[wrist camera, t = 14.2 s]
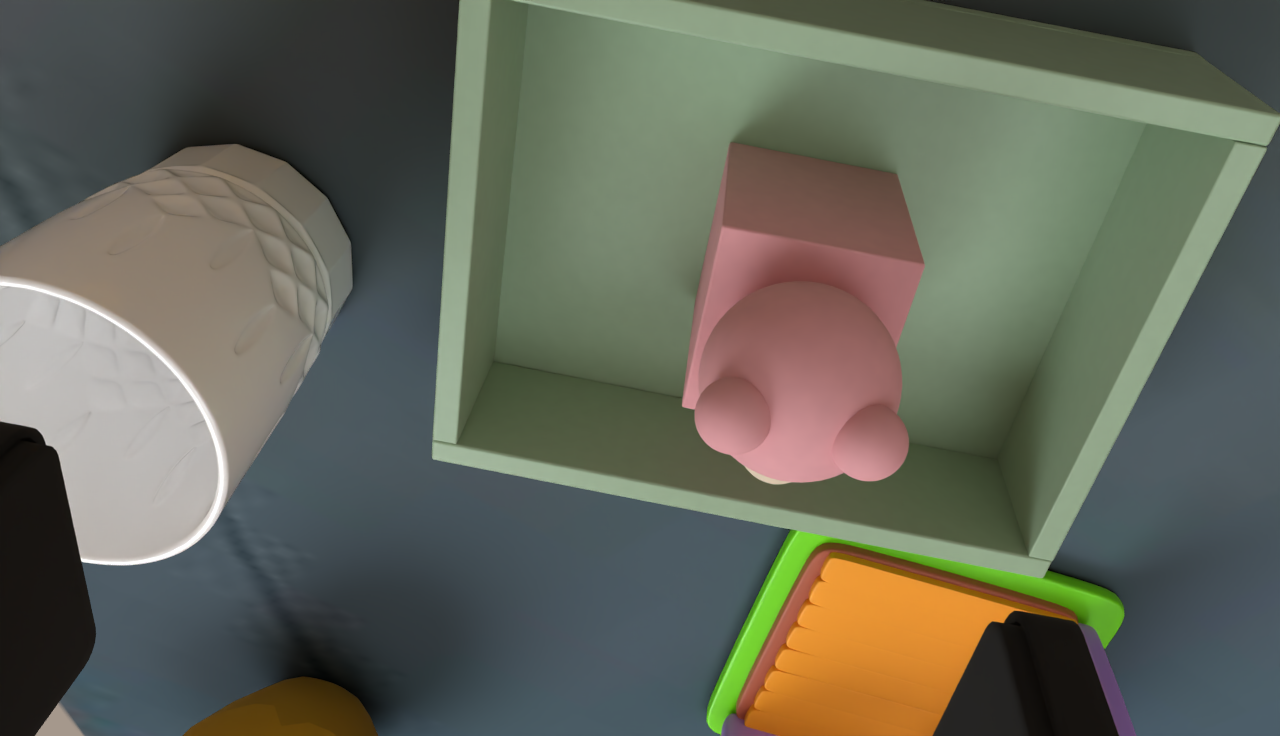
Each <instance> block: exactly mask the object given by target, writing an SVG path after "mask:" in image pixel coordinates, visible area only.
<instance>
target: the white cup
mask: <svg viewBox="0 0 1280 736" xmlns="http://www.w3.org/2000/svg"><path fill="white" fill-rule="evenodd" d="M352 288H353V277H352V254H351V242H350V240H349V238H348V236H347V234H346V232H345V230H344V228H343V226H342V225H341V223H340V221H339V219H338V217H337V215H336V213H335V211H334V209H333V207H332V205H331V204H330V202H329V200H328V198H327V197H326V196H325V195H324V194H323V193H321V192H320V191H319V190H318V189H317V188H316V187H315V186H313V185H312V184H311V183H310V182H309V181H308V180H307V179H305V178H304V177H303V176H302V175H301V174H300V173H299V172H297V171H296V170H295V169H294V168H293V167H292V166H291V165H289V164H288V163H287V162H285V161H282V160H280V159H277V158H274V157H272V156H269V155H266V154H263V153H261V152H258V151H255V150H252V149H250V148H247V147H244V146H241V145H239V144H223V145H210V146H197V147H187V148H185V149H183V150H181V151H179V152H177V153H176V154H174V155H172V156H171V157H169V158H167V159H166V160H164V161H162V162H161V163H159V164H157V165H156V166H154V167H152V168H151V169H149V170H147V171H145V172H143V173H141V174H139V175H137V176H134V177H131V178H129V179H126V180H123V181H120V182H117V183H115V184H113V185H112V186H109V187H107V188H105V189H103V190H101V191H99V192H97V193H96V194H94V195H92V196H90V197H88V198H86V199H85V200H83V201H81V202H79V203H78V204H76V205H74V206H72V207H70V208H68V209H66V210H63V211H61V212H59V213H57V214H56V215H54V216H52V217H50V218H48V219H46V220H45V221H43V222H41V223H40V224H38V225H36V226H34V227H33V228H31V229H29V230H28V231H26V232H24V233H22V234H21V235H19V236H17V237H15V238H14V239H12V240H10V241H8V242H7V243H5V244H3V245H1V246H0V422H6V423H11V424H17V425H22V426H27V427H32V428H35V429H37V430H38V431H39V432H40V433H41V434H42V435H43V438H44V440H45V443H46V445H48V446H52V447H53V448H54V449H55V450H56V451H57V453H58V456H59V460H60V464H61V469H62V474H63V478H64V483H65V488H66V492H67V497H68V502H69V506H70V511H71V516H72V520H73V525H74V530H75V534H76V539H77V544H78V548H79V553H80V558H81V562H86V563H93V564H102V565H136V564H144V563H150V562H155V561H159V560H162V559H166V558H168V557H171V556H174V555H176V554H178V553H180V552H182V551H184V550H186V549H188V548H189V547H191V546H192V545H194V544H195V543H196V542H198V541H199V540H200V539H201V538H202V537H203V536H204V535H205V534H206V533H207V532H208V531H209V530H210V529H211V528H212V526H213V525H214V523H215V522H216V520H217V519H218V517H219V516H220V514H221V512H222V511H223V509H224V508H225V506H226V504H227V503H228V501H229V500H230V498H231V496H232V495H233V493H234V492H235V490H236V488H237V487H238V485H239V484H240V482H241V480H242V479H243V477H244V476H245V474H246V472H247V471H248V469H249V468H250V466H251V465H252V463H253V461H254V460H255V458H256V457H257V455H258V454H259V452H260V451H261V449H262V447H263V446H264V444H265V443H266V441H267V440H268V438H269V436H270V435H271V433H272V432H273V430H274V429H275V427H276V426H277V424H278V423H279V421H280V420H281V418H282V416H283V415H284V413H285V411H286V409H287V407H288V405H289V403H290V401H291V399H292V398H293V396H294V395H295V393H296V392H297V390H298V388H299V387H300V385H301V384H302V382H303V381H304V379H305V377H306V374H307V372H308V370H309V369H310V367H311V366H312V364H313V363H314V361H315V360H316V358H317V356H318V355H319V353H320V350H321V344H322V341H323V339H324V338H325V336H326V335H327V333H328V332H329V330H330V328H331V327H332V325H333V324H334V322H335V320H336V318H337V316H338V314H339V313H340V311H341V309H342V307H343V305H344V303H345V301H346V300H347V298H348V296H349V294H350V292H351V290H352Z"/></svg>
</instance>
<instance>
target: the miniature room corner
mask: <svg viewBox="0 0 1280 736" xmlns="http://www.w3.org/2000/svg"><path fill="white" fill-rule="evenodd" d="M1013 611H1023V612H1028V613H1034V614H1039V615H1044V616H1050V617H1055V618H1060V619H1066V620H1071V621H1074V622H1075V623H1076V624H1078V625H1079V627H1080V628H1081V630H1082V632H1083V634H1084V637H1085V640H1086V643H1087V646H1088V649H1089V651H1090V654H1091V657H1092V660H1093V663H1094V666H1095V669H1096V671H1097V674H1098V677H1099V680H1100V683H1101V686H1102V688H1103V691H1104V694H1105V697H1106V700H1107V703H1108V706H1109V708H1110V711H1111V714H1112V717H1113V720H1114V723H1115V726H1116V728H1117V731H1118V734H1119V736H1136V733H1135V730H1134V728H1133V725H1132V722H1131V719H1130V716H1129V714H1128V711H1127V708H1126V705H1125V703H1124V700H1123V697H1122V695H1121V692H1120V689H1119V687H1118V684H1117V681H1116V679H1115V676H1114V673H1113V671H1112V668H1111V666H1110V663H1109V660H1108V658H1107V655H1106V653H1105V650H1104V649H1105V648H1106V646H1107V645H1108V644H1109V642H1110V641H1111V639H1112V638H1113V637H1114V635H1115V634H1116V632H1117V631H1118V629H1119V627H1120V626H1121V624H1122V621H1123V618H1124V607H1123V604H1122V602H1121V600H1120V599H1119V598H1118V597H1117V595H1116V594H1115V593H1113V592H1111V591H1109V590H1107V589H1105V588H1102V587H1100V586H1097V585H1094V584H1091V583H1088V582H1085V581H1081V580H1078V579H1075V578H1072V577H1068V576H1065V575H1062V574H1058V573H1055V572H1052V571H1048V570H1047V572H1046V574H1045V576H1044V577H1043V578H1037V577H1032V576H1027V575H1021V574H1016V573H1011V572H1006V571H1001V570H996V569H991V568H986V567H981V566H975V565H970V564H965V563H960V562H955V561H950V560H945V559H940V558H935V557H930V556H924V555H919V554H914V553H909V552H904V551H899V550H894V549H889V548H884V547H878V546H873V545H868V544H863V543H858V542H853V541H848V540H843V539H838V538H832V537H827V536H822V535H817V534H812V533H807V532H802V531H797V530H792V529H791V530H790V532H789V534H788V535H787V537H786V539H785V541H784V543H783V545H782V547H781V549H780V551H779V553H778V555H777V557H776V559H775V561H774V563H773V565H772V567H771V569H770V571H769V573H768V575H767V577H766V579H765V581H764V583H763V585H762V587H761V589H760V592H759V594H758V596H757V598H756V600H755V602H754V604H753V606H752V608H751V610H750V612H749V614H748V617H747V619H746V621H745V623H744V625H743V627H742V629H741V631H740V633H739V636H738V638H737V640H736V642H735V644H734V646H733V648H732V651H731V653H730V655H729V657H728V659H727V661H726V664H725V666H724V668H723V670H722V672H721V675H720V677H719V679H718V681H717V684H716V686H715V688H714V691H713V693H712V695H711V698H710V701H709V704H708V707H707V723H708V725H709V727H710V728H711V729H712V730H713V731H714V732H716V733H718V734H720V735H721V736H933V734H934V732H935V730H936V728H937V725H938V723H939V721H940V719H941V717H942V715H943V713H944V711H945V709H946V707H947V705H948V703H949V701H950V699H951V697H952V695H953V693H954V691H955V689H956V687H957V685H958V683H959V681H960V679H961V677H962V675H963V673H964V671H965V669H966V667H967V665H968V663H969V661H970V659H971V657H972V655H973V653H974V651H975V649H976V647H977V645H978V643H979V641H980V639H981V637H982V635H983V633H984V630H985V629H986V627H987V626H988V624H989V623H991V622H992V621H994V622H1001V623H1004V621H1005V620H1006V618H1007V617H1008V615H1009V614H1010V613H1012V612H1013Z"/></svg>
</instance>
